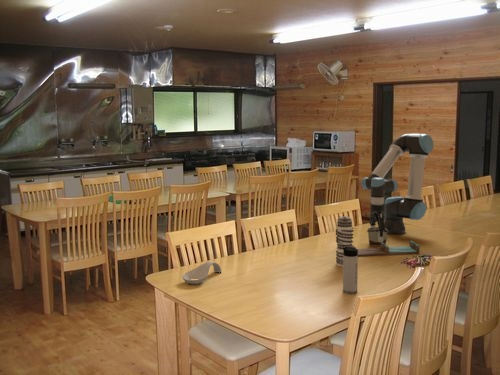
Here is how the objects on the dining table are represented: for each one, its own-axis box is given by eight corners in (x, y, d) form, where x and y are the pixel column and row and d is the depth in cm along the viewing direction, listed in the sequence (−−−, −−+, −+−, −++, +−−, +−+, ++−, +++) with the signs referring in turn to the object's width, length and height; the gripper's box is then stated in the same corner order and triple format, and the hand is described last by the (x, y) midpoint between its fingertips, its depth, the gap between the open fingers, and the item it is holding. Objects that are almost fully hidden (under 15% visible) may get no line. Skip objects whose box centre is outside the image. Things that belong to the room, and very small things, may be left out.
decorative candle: (356, 263, 263) (357, 216, 259) (347, 268, 256) (347, 219, 252) (341, 260, 269) (342, 214, 265) (332, 264, 262) (332, 217, 258)
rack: (350, 250, 288) (350, 242, 287) (410, 248, 291) (410, 240, 290) (356, 256, 276) (357, 248, 275) (419, 253, 279) (419, 245, 279)
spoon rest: (197, 288, 230) (196, 273, 229) (177, 284, 236) (176, 269, 235) (227, 274, 250) (226, 260, 249) (208, 271, 256) (207, 257, 255)
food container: (386, 243, 303) (386, 227, 301) (388, 246, 297) (388, 229, 295) (365, 243, 304) (365, 227, 303) (366, 245, 298) (367, 229, 297)
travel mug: (340, 289, 225) (340, 245, 222) (355, 288, 225) (355, 245, 223) (344, 294, 219) (344, 249, 216) (359, 293, 219) (359, 249, 216)
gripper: (364, 200, 309) (363, 234, 312) (378, 207, 284) (377, 244, 287) (376, 200, 310) (375, 233, 313) (391, 207, 285) (390, 243, 288)
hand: (376, 239), depth 300 cm, fingers open, 13 cm apart
